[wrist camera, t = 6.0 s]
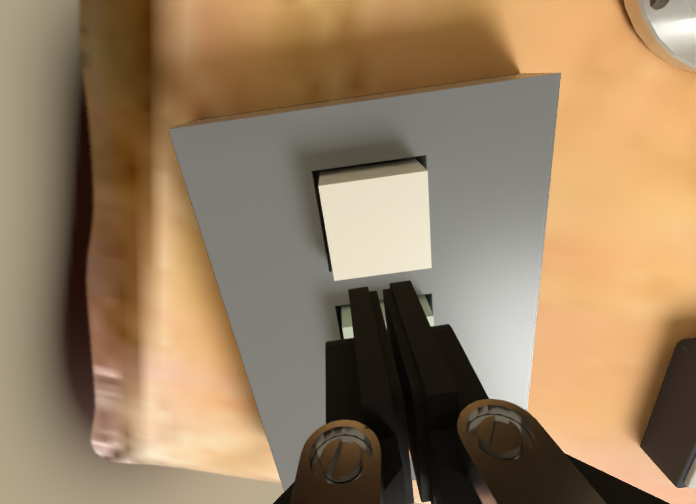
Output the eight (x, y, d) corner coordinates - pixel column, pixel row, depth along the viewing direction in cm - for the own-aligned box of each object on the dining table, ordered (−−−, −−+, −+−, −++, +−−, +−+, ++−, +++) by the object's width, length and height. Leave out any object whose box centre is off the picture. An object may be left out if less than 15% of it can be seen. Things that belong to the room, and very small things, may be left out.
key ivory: (319, 171, 17) (318, 186, 15) (415, 158, 17) (427, 170, 15) (334, 256, 19) (334, 280, 17) (419, 245, 19) (431, 267, 17)
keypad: (195, 120, 19) (167, 129, 15) (521, 73, 18) (561, 72, 15) (290, 449, 29) (285, 495, 26) (500, 423, 28) (521, 466, 25)
